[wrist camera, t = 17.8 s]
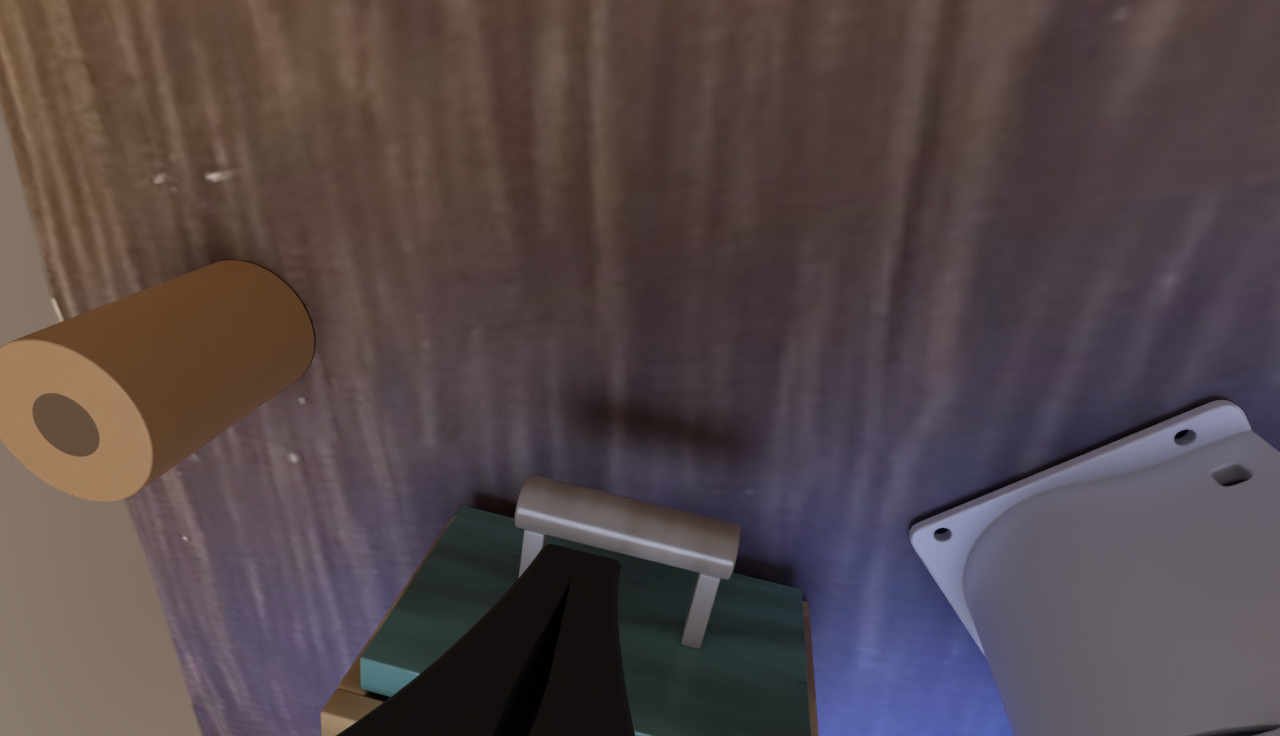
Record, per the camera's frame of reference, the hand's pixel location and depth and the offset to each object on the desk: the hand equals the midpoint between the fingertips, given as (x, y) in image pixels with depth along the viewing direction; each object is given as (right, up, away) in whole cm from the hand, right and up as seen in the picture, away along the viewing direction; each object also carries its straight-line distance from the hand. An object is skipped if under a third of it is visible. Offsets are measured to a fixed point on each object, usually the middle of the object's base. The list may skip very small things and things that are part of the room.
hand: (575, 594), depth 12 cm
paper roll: (-12, +5, +11) cm, 17 cm away
